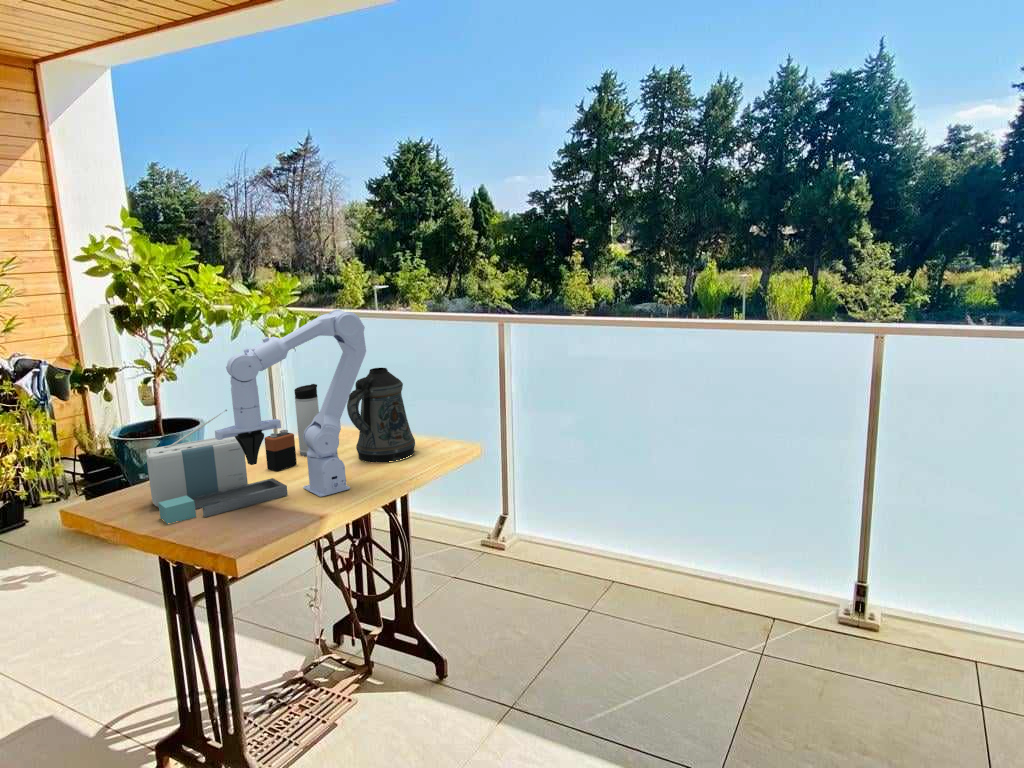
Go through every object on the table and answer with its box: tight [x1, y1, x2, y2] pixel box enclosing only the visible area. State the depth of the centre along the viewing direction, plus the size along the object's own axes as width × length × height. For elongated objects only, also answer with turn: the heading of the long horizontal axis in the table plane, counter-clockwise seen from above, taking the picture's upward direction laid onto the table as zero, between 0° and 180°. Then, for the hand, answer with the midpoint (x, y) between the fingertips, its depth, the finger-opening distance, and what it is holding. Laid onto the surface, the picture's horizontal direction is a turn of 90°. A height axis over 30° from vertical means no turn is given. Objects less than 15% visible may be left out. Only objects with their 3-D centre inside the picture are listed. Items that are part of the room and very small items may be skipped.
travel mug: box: [293, 383, 320, 457], centre depth 201 cm, size 6×7×20 cm
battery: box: [263, 429, 298, 472], centre depth 189 cm, size 4×7×10 cm, turn 146°
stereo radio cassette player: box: [145, 408, 249, 509], centre depth 167 cm, size 21×8×20 cm, turn 125°
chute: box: [192, 477, 289, 518], centre depth 164 cm, size 19×8×2 cm, turn 132°
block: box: [158, 496, 197, 525], centre depth 155 cm, size 5×6×4 cm
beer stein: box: [346, 367, 416, 463], centre depth 195 cm, size 16×19×25 cm
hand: (252, 463), depth 162 cm, fingers closed
